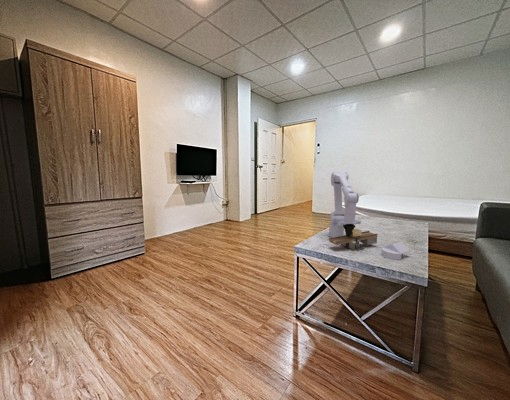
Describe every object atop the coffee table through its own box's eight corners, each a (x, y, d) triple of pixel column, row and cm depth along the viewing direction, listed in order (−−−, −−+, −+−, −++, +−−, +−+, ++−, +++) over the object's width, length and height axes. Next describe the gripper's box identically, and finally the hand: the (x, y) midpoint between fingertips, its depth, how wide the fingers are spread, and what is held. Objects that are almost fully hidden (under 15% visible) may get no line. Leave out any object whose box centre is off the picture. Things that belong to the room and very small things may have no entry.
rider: (347, 236, 126) (348, 230, 125) (356, 235, 127) (356, 228, 127) (352, 238, 122) (352, 232, 121) (361, 237, 123) (361, 230, 123)
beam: (329, 247, 124) (328, 238, 123) (368, 239, 132) (368, 230, 131) (336, 251, 118) (336, 241, 117) (377, 243, 126) (377, 233, 125)
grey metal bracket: (340, 244, 129) (341, 234, 128) (351, 243, 131) (352, 233, 130) (352, 250, 119) (353, 239, 118) (363, 249, 121) (364, 238, 120)
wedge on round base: (391, 250, 120) (377, 254, 114) (392, 239, 119) (378, 242, 113) (408, 256, 113) (394, 261, 107) (410, 244, 112) (396, 248, 106)
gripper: (344, 215, 115) (342, 239, 117) (365, 214, 119) (363, 237, 121) (335, 213, 122) (334, 235, 124) (356, 212, 126) (354, 233, 128)
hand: (348, 236), depth 123 cm, fingers closed
